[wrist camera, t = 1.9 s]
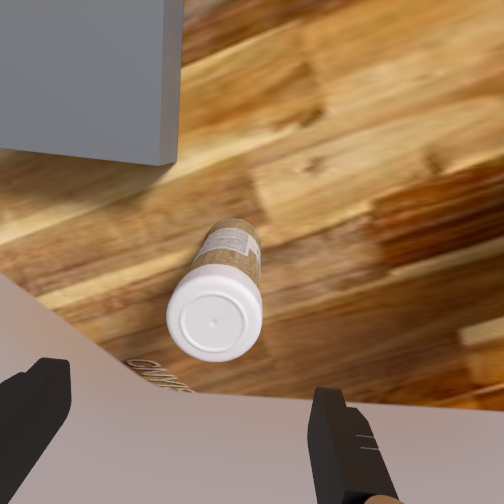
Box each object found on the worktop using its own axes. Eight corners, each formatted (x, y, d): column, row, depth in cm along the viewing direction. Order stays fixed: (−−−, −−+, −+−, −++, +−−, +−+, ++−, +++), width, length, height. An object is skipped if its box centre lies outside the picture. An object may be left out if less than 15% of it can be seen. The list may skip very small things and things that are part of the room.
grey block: (186, -59, 23) (167, -111, 18) (176, 161, 27) (159, 166, 22) (-30, -85, 23) (-106, -145, 18) (-6, 140, 27) (-63, 140, 22)
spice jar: (256, 273, 30) (253, 373, 17) (202, 264, 30) (159, 357, 17) (266, 221, 28) (270, 286, 16) (210, 211, 28) (168, 269, 15)
